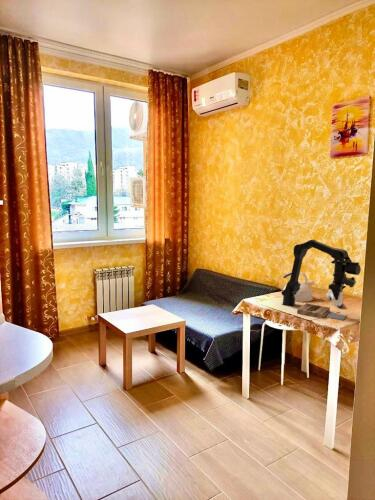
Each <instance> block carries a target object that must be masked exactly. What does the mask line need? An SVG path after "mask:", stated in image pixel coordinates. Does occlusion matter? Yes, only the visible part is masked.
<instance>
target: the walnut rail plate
mask: <svg viewBox="0 0 375 500" xmlns="http://www.w3.org/2000/svg"><path fill="white" fill-rule="evenodd" d="M330 309H331V307H329V306H322V305H317V304H312V303H305V304H303V305H302V306H300V307H299V308H297V312H296V314H299V315H301V316H302V315H303V316H308V317H313V318H318V319H323V318H324V317H325V316H327V315H328V314H329V313H331V312H330V311H331V310H330ZM312 310H315V311H312Z"/></svg>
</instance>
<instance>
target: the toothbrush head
mask: <svg viewBox="0 0 375 500" xmlns="http://www.w3.org/2000/svg"><path fill="white" fill-rule="evenodd" d="M325 296H326V299H328V300H331V301H333V293H332V290H331V289H328V291H327V293H326V295H325ZM335 306H336V307H337V309H342V308H344V304H343V302H342V305H341V306H338V305H335Z"/></svg>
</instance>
